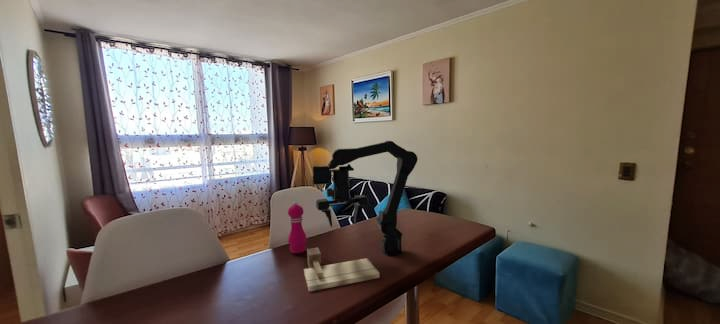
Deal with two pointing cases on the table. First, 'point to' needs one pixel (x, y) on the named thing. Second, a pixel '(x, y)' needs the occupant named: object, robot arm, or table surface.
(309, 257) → the wooden mallet
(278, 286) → the table surface
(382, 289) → the table surface
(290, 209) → the pepper mill
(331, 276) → the board
